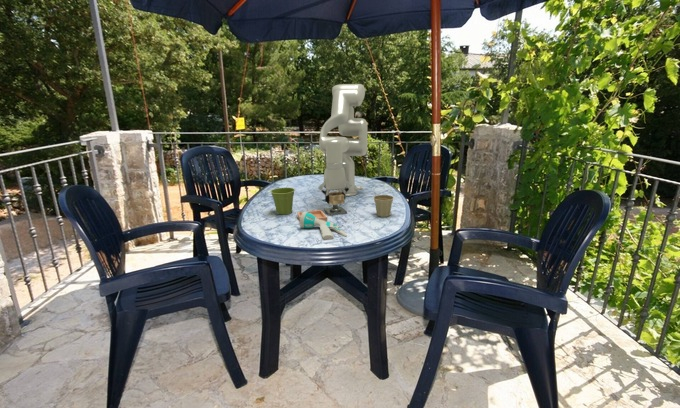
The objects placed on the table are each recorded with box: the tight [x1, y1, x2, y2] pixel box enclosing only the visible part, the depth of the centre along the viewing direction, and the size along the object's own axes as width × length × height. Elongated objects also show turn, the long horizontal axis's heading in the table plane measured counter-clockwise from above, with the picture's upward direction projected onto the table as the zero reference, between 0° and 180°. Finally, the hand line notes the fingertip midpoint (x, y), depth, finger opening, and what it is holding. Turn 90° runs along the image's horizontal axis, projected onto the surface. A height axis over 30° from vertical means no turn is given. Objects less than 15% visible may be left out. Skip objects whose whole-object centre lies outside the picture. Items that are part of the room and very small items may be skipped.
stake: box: [323, 204, 348, 216], centre depth 169 cm, size 9×9×6 cm
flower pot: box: [373, 194, 395, 218], centre depth 162 cm, size 9×9×9 cm
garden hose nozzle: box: [298, 211, 348, 241], centre depth 145 cm, size 7×18×20 cm
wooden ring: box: [328, 191, 345, 206], centre depth 168 cm, size 7×7×4 cm
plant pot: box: [270, 187, 296, 216], centre depth 168 cm, size 12×12×11 cm
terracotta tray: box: [296, 209, 328, 222], centre depth 159 cm, size 12×12×2 cm
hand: (335, 201), depth 169 cm, fingers closed on wooden ring, 7 cm apart
